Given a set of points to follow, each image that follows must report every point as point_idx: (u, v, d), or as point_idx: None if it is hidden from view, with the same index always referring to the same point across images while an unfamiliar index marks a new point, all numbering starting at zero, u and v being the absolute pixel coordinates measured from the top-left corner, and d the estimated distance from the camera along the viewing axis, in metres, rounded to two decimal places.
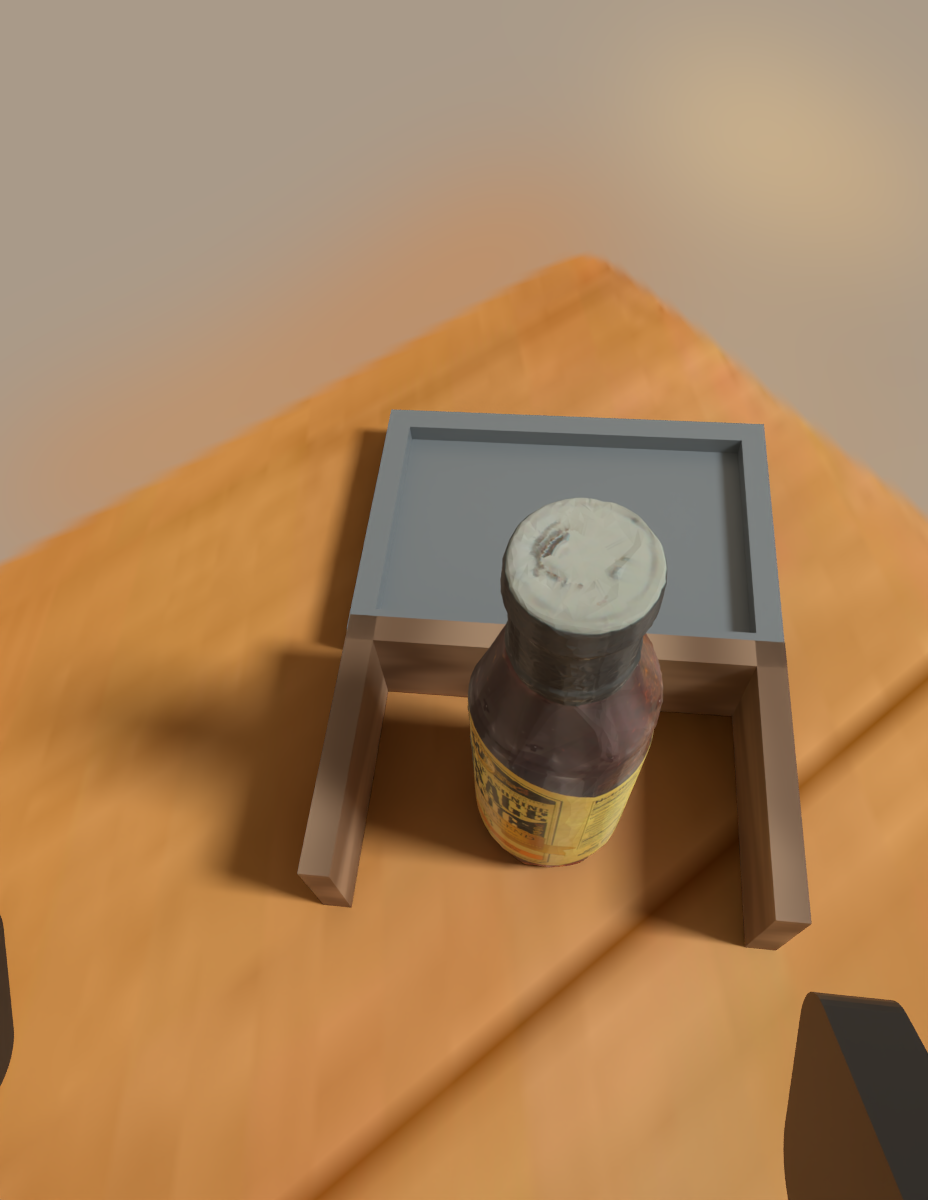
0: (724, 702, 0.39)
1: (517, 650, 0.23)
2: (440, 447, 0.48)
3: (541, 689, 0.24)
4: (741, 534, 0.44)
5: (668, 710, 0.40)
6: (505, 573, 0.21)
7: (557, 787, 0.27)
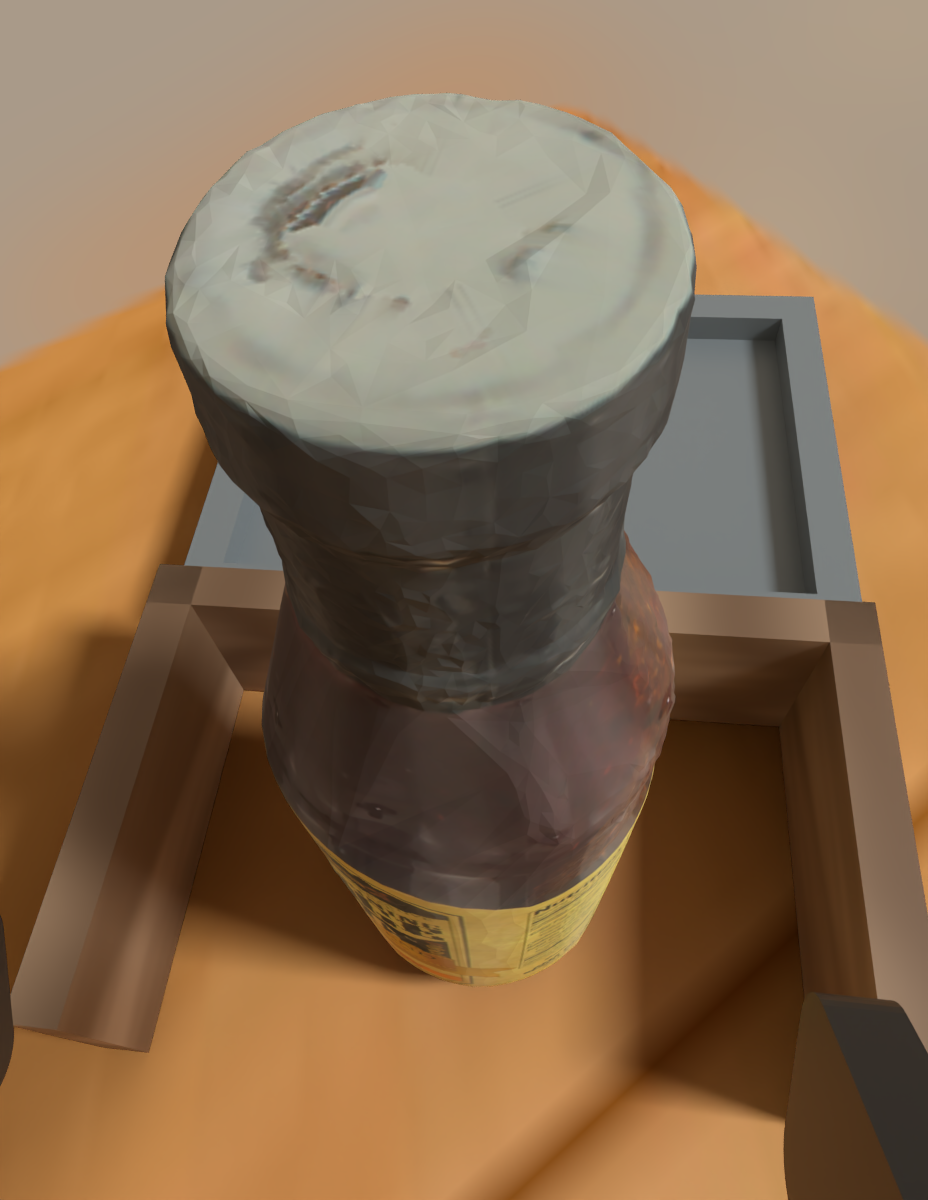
0: (768, 704, 0.24)
1: (284, 563, 0.09)
2: None
3: (358, 671, 0.09)
4: (785, 451, 0.29)
5: (677, 717, 0.25)
6: (165, 281, 0.06)
7: (440, 894, 0.12)
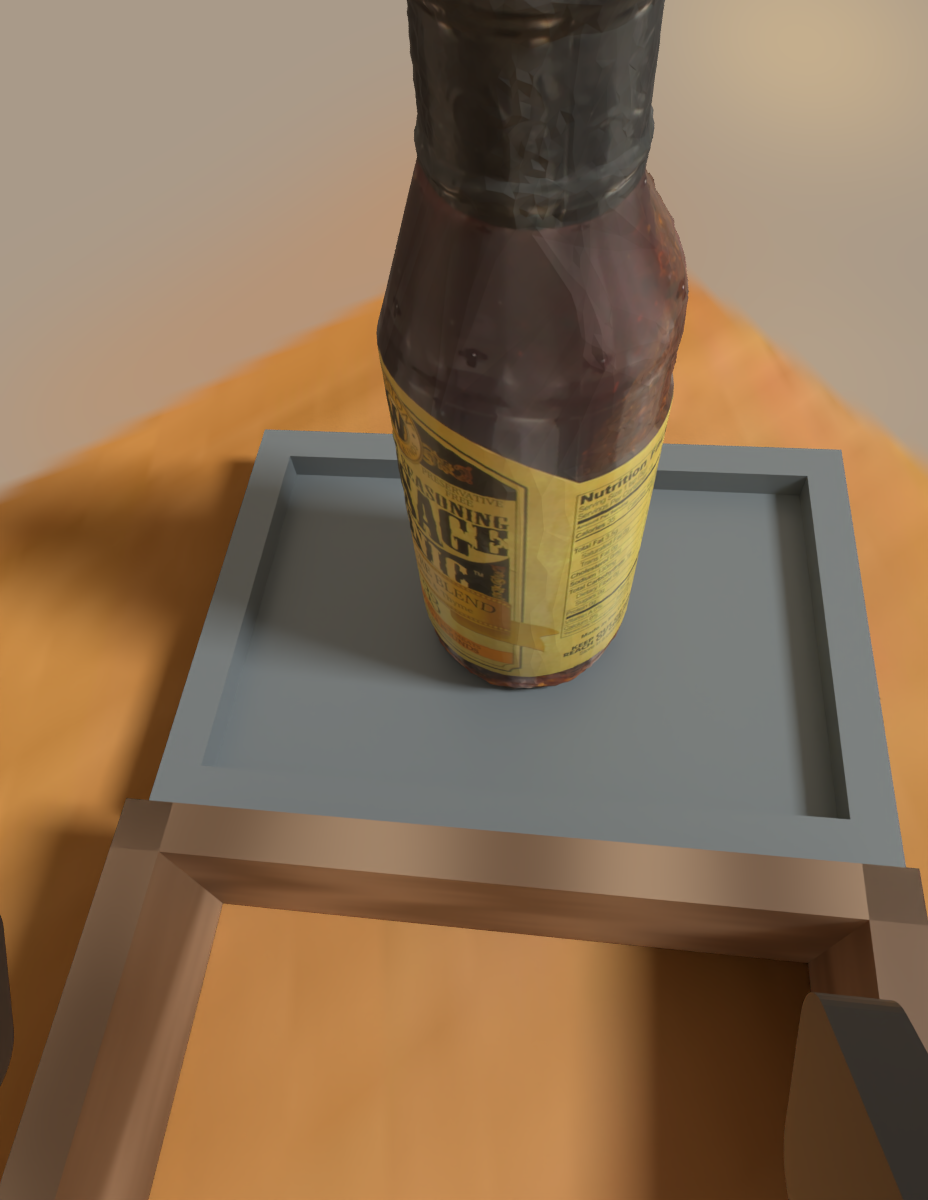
0: (797, 950, 0.22)
1: (427, 107, 0.13)
2: (338, 487, 0.31)
3: (473, 192, 0.13)
4: (812, 631, 0.27)
5: (696, 950, 0.23)
6: None
7: (514, 446, 0.16)
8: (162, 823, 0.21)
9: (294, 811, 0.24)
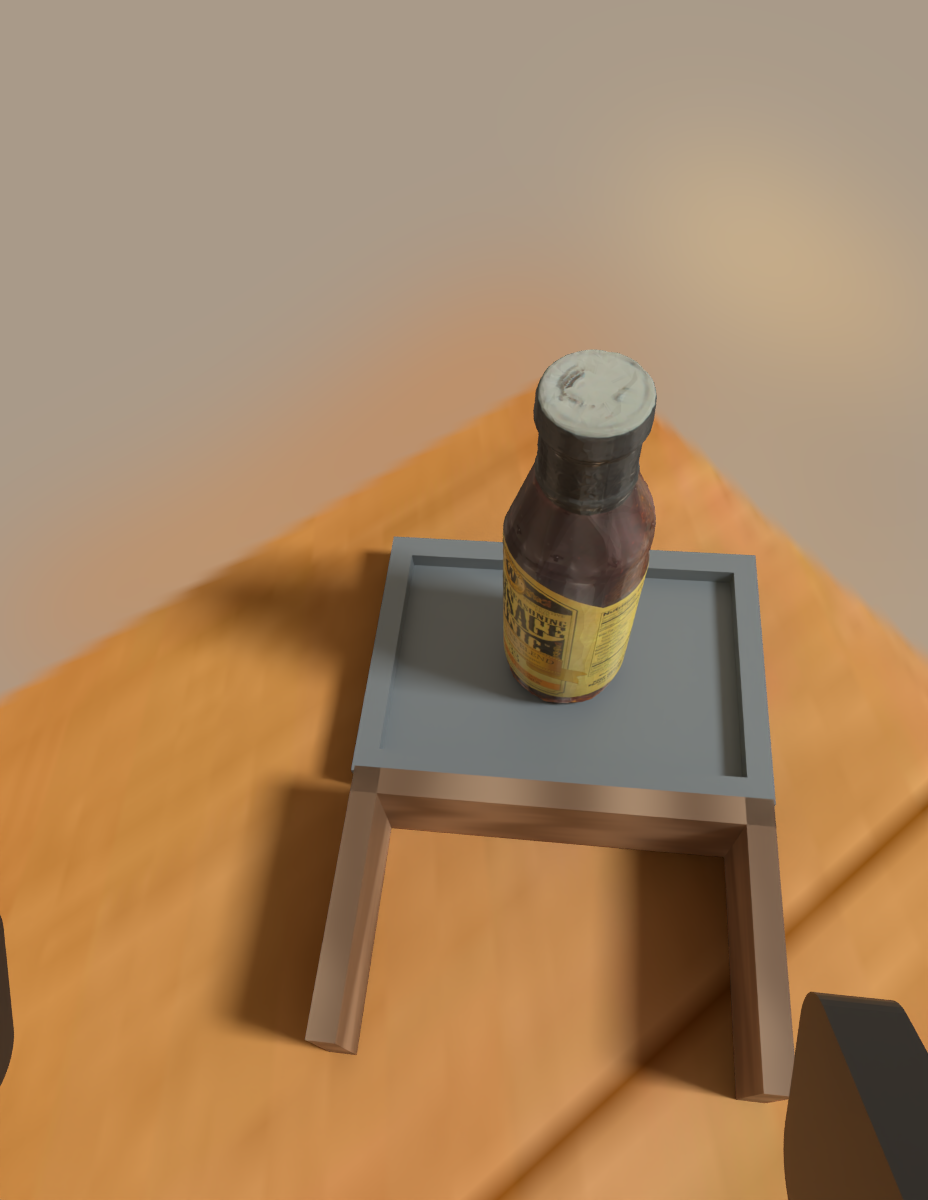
0: (716, 847, 0.40)
1: (545, 469, 0.31)
2: (441, 574, 0.49)
3: (563, 501, 0.31)
4: (733, 669, 0.45)
5: (662, 850, 0.41)
6: (538, 399, 0.29)
7: (573, 594, 0.35)
8: (376, 778, 0.39)
9: None
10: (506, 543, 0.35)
